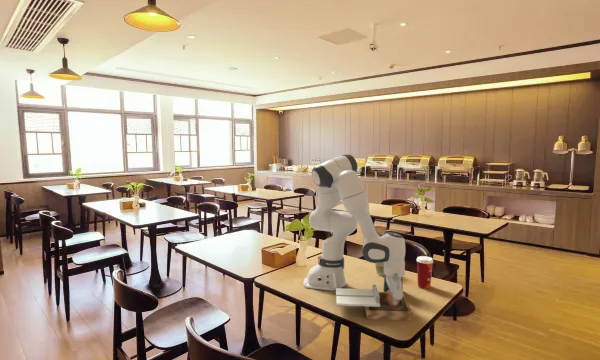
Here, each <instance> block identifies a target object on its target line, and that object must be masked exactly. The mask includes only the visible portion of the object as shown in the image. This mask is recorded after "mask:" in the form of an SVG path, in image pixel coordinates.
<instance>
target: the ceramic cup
mask: <svg viewBox="0 0 600 360" xmlns="http://www.w3.org/2000/svg"><path fill="white" fill-rule="evenodd" d="M374 264H375V270H376V274H377V275H379V276H383V277H385V274H384V262H380V263H374Z"/></svg>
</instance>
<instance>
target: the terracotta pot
mask: <svg viewBox="0 0 600 360" xmlns="http://www.w3.org/2000/svg"><path fill="white" fill-rule="evenodd" d="M392 299H393V297H392V295H391V292H390V290H387V305H388V306H389V307H391V308H398V307H399V306H400V300H397V305H393V303H392Z"/></svg>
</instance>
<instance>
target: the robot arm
mask: <svg viewBox="0 0 600 360" xmlns="http://www.w3.org/2000/svg"><path fill="white" fill-rule="evenodd" d="M357 172H358V162H357V159H356V158H355V157H354V156H353V155H352V154H342V155H340V156H336V157H333V158H330V159H328V160H326V161H324V162H321V163H318V164H317V165H315V166H314V167H313V168H312V170H311V177H312V181H313V182H314V183H315V185H316V188H317V189H316V191H317V196H318V197H317V199H318V204H317V207H316V208H315V209H314V210H312V211H311V213H310V214H309V217H308V223H309V226H310V227H311V228H312V229H315V230H317V231H320V232H321V231H324V232H330V233H332V235H331V236H329V237H327V238H326V239H324V240H323V242H322V243H321V244H322V245H321V255H320V254H318V256H317V261H318V262H317V264H316V265H314V266H313V267H311V268H310V269H309V271H308V273H307V276H306V277H304V279H303V283H302V285H303V287H304V288H306V289H313V290H323V291H331V292H333V291H336V288H345V287H346V285H347V280H346V278H345V271H344V268H345V257H344V250H345V249H344V248H345V243H346V240H347V238H348V237H349V236H350V235H351V234H352V233H354V231H356V230H357V227H358V225H359V228H360V230H361V234H362V235H363V243H362V249H361V251H362V256H363V259H364V260H366V262H368V263H372V264H375V263H380V262H384V274H385V276H386V282H387V285H388V287H389V290H390V292H391V295H392V297H393V299H392V303H393V305H397V300H402V293H403V291H402V282H403V281H402V282H401V280H400V279H401V277H402V278H403V277H405V275H406V274H405V268H406V261H405V256H406V241H405V238H404V236H403V235H401V234H399V233H397V232H393V231H391V232H390V231H388V232H386V233H385V234H383V235H381V234H380V233H379V232H378V231H377V228H376V227H375V225H374V222H373V219H372V216H371V213H370V205H369V199H368V196H367V192H366V189H365V187H364V184H363V182H362V180H361V178H360V176H359V175H358V174H357ZM341 202H342V205H343V206H344V209H345V210H346V211H345V210H334V208H336V207H337V206H339V204H341ZM385 276H384V277H385Z"/></svg>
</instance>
